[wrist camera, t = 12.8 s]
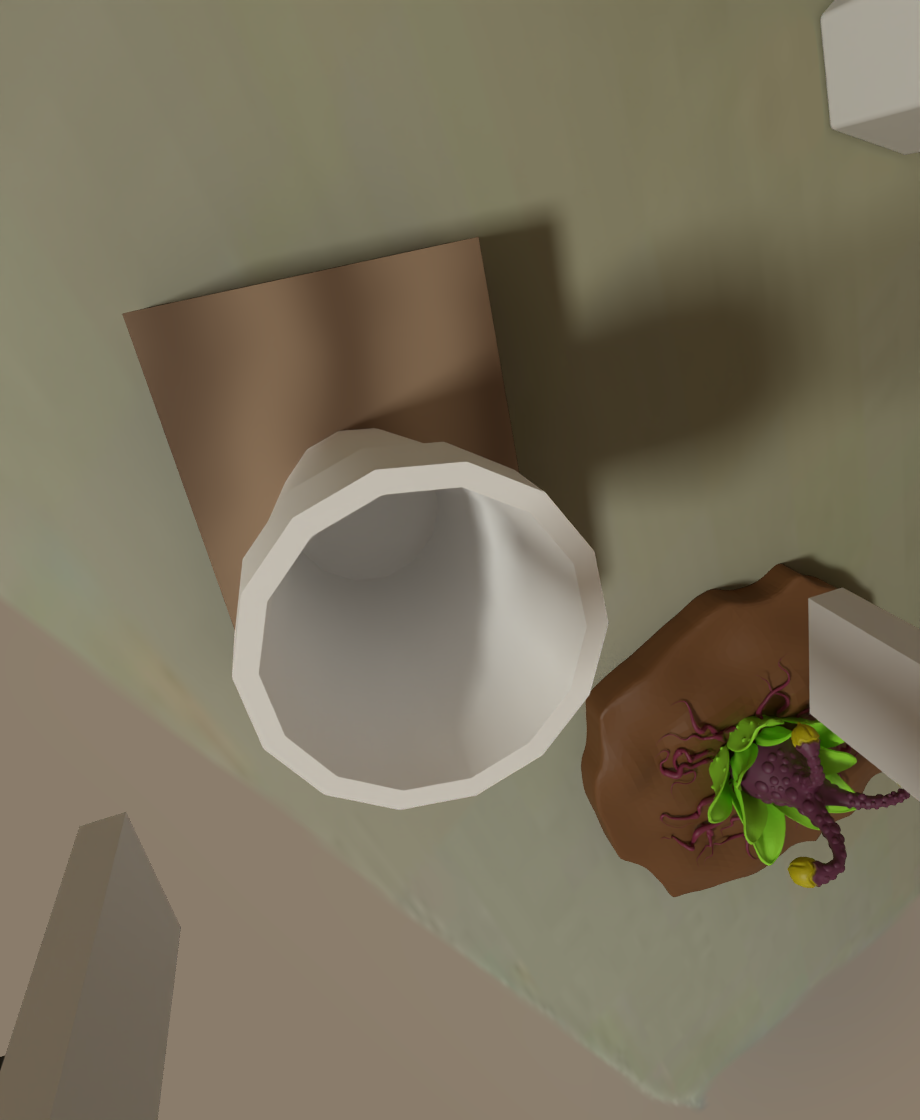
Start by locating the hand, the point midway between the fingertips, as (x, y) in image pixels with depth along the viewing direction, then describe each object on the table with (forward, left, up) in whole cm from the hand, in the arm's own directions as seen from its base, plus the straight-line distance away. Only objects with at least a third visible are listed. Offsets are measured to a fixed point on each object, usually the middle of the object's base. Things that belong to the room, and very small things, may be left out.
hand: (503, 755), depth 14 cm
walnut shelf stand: (0, 0, -23) cm, 23 cm away
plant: (-18, +22, -24) cm, 37 cm away
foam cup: (0, 0, -18) cm, 18 cm away
